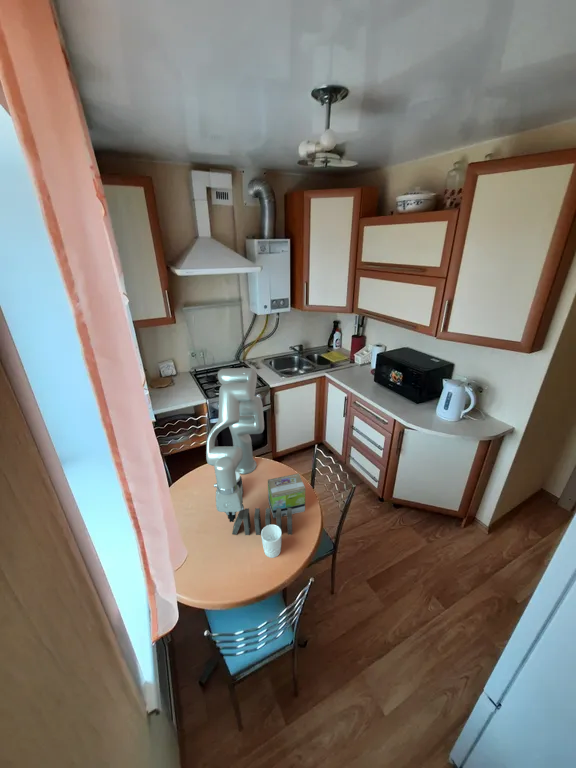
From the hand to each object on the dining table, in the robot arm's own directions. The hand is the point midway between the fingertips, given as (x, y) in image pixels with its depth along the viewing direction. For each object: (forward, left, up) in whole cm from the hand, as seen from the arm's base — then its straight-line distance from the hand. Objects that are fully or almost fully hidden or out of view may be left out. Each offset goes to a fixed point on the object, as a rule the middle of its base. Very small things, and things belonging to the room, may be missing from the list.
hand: (232, 519), depth 131 cm
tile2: (0, +11, -7) cm, 12 cm away
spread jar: (-21, -4, -7) cm, 23 cm away
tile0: (0, +1, -6) cm, 6 cm away
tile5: (0, +24, -7) cm, 25 cm away
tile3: (0, +15, -7) cm, 16 cm away
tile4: (0, +20, -7) cm, 21 cm away
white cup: (+10, +17, -7) cm, 21 cm away
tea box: (-12, +23, -7) cm, 26 cm away
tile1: (0, +6, -7) cm, 9 cm away
